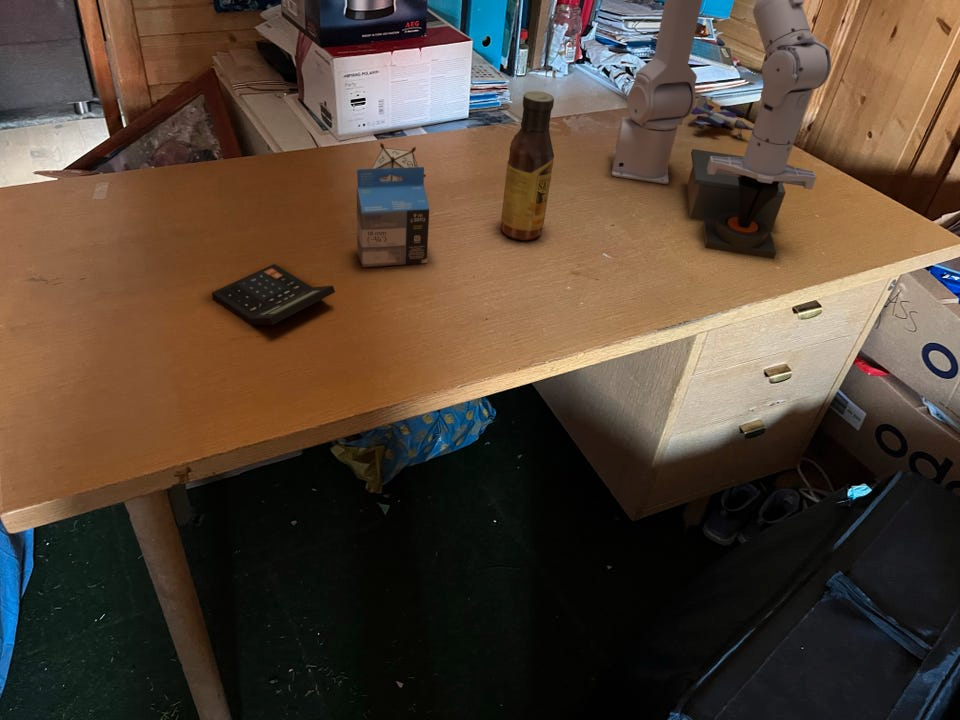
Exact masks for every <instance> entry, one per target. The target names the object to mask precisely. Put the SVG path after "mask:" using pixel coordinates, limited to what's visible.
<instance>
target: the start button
mask: <svg viewBox="0 0 960 720" xmlns="http://www.w3.org/2000/svg"><path fill="white" fill-rule="evenodd" d="M727 225H728V226H729V227H730V228H731V229H733V230H736V231H738V232H742V233H748V234H749V233H756V232H757V230H758V225H757V224H756V223H755V222H753V221H752V223H751V224H750V226H749V228H744V227H739V224H738V217H732V218H730V219H729V220H728V222H727Z"/></svg>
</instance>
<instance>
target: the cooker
mask: <svg viewBox="0 0 960 720" xmlns="http://www.w3.org/2000/svg"><path fill="white" fill-rule="evenodd" d="M686 192H687V193H686V194H687V203H688V213H689V219H690V220H696V221H697V220H698V221H702V222H704V219H706V220H712V221H717V218H718V217H720V216H721V215H722V214H724V213H733V212H735V213H739V210H740V191H739V190H732V189H726V188H719V187H712V186H706V185H699V184H695V182H694V173H693V165H692V166H691V170H690V174H689V177H688V181H687V184H686ZM784 198H785V196H784V197H779V196H775V197H774V198H772V199H771V200H770V201H769V202H768V203H767V204H766V205H765V206H764V207H763V208H762V209H761V210H760V211H759V213H758V214H757V215H756V217H755V218H757V219H759V220H761V221H762V222H763V223H764V224H766V225H767V228H768V229H770V232H773V227H774V225H775V223H776V220H777V217H778V215H779V212H780V209H781V206H782V204H783V201H784Z"/></svg>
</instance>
